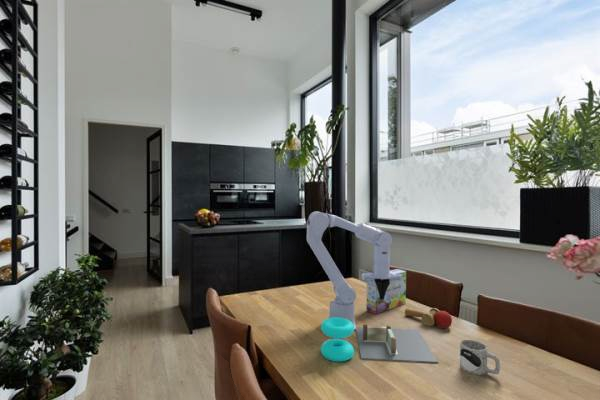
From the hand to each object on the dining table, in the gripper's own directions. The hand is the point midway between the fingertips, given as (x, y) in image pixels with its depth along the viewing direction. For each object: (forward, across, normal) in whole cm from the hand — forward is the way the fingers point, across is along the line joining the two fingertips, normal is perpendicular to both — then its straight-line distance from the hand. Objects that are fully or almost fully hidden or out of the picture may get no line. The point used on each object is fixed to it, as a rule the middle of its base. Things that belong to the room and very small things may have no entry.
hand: (381, 298), depth 120 cm
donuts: (+10, -17, -25) cm, 32 cm away
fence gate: (+9, 0, -20) cm, 22 cm away
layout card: (+9, +1, -16) cm, 19 cm away
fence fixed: (+9, -4, -15) cm, 18 cm away
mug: (+10, +22, -30) cm, 38 cm away
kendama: (+10, +18, +4) cm, 21 cm away
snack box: (+10, +5, +18) cm, 21 cm away
